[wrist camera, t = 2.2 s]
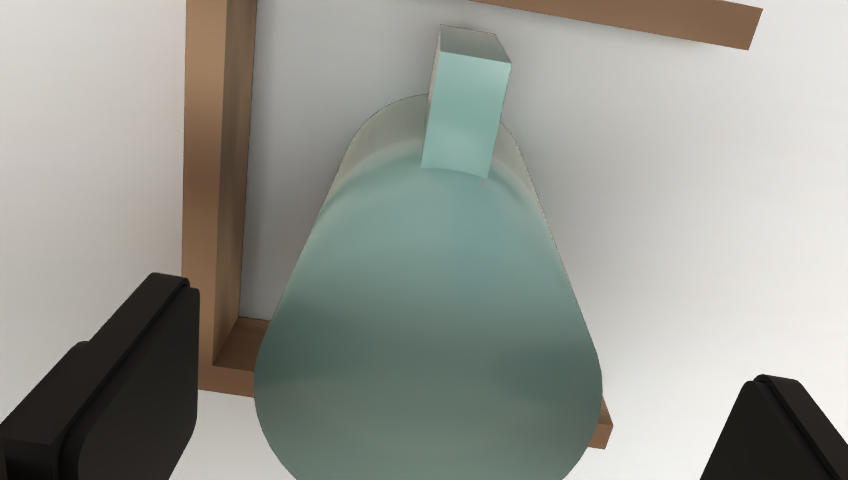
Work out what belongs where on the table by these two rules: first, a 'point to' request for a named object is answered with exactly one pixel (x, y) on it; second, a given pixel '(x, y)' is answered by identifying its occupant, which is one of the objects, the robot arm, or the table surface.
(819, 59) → the table surface
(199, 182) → the holder
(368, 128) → the teal mug
